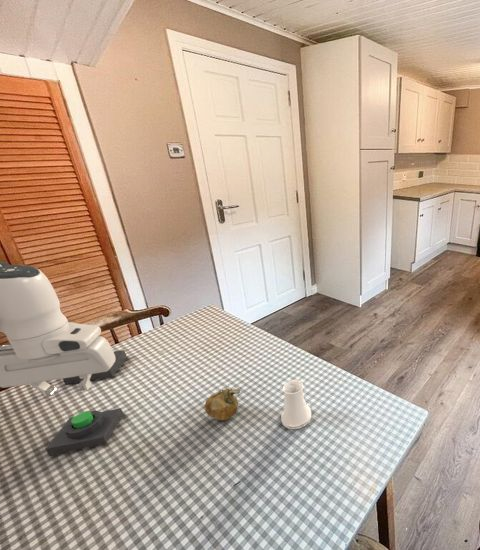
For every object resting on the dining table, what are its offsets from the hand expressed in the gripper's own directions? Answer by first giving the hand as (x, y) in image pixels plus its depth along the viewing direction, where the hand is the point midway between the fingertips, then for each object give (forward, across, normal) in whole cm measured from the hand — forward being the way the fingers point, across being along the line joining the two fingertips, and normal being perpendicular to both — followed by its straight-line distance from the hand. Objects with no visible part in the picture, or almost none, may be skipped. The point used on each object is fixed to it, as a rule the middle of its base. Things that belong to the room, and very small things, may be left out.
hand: (69, 391), depth 69 cm
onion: (+13, +31, -3) cm, 34 cm away
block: (+13, 0, 0) cm, 13 cm away
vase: (+13, +49, -9) cm, 52 cm away
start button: (+10, 0, 0) cm, 10 cm away
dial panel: (+13, -10, +27) cm, 32 cm away
